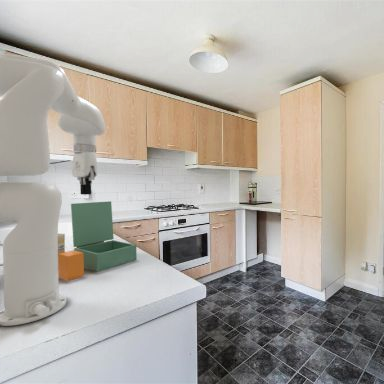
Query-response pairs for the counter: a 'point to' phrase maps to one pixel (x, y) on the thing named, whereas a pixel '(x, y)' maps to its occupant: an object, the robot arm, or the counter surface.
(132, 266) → the counter surface
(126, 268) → the counter surface
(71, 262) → the juice carton
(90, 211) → the lunchbox lid
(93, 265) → the lunchbox
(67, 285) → the counter surface
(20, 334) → the counter surface
